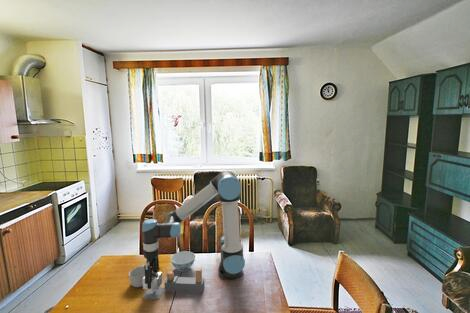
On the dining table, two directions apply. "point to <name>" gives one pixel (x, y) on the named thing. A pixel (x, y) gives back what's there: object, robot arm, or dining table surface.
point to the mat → (155, 294)
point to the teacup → (137, 276)
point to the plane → (185, 282)
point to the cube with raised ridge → (154, 280)
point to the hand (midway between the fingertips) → (153, 288)
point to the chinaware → (183, 260)
